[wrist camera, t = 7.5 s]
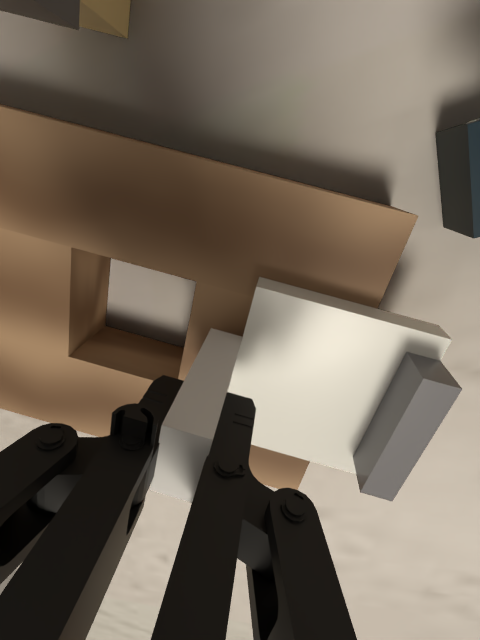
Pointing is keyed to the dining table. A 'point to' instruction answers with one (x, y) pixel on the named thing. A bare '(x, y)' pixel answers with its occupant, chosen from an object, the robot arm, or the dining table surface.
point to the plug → (76, 13)
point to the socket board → (156, 262)
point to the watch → (460, 177)
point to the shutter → (343, 383)
